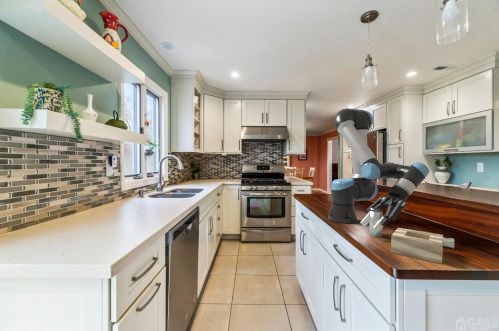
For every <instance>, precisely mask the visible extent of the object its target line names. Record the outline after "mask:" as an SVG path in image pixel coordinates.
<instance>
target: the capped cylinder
mask: <svg viewBox="0 0 499 331" xmlns="http://www.w3.org/2000/svg"><path fill="white" fill-rule="evenodd" d="M368 208H369V207H368ZM382 217H383V209H380V208H369V223H368V227H369V229H368V235H369V236H370V237H374V238H382V237H383V228H382V229H381V230H380V231H379V232H376V231H375V229H374V228H373V227H374V226H375V225H376V224H377V222H378V221H379V220H380V219H381V218H382Z"/></svg>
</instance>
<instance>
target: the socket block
mask: <svg viewBox="0 0 499 331" xmlns="http://www.w3.org/2000/svg"><path fill="white" fill-rule="evenodd" d="M443 237H444V234H439V233H432V232H429V231H428V232H427V231H421V230H414V229H409V228H408V229H407V228H401V227H397V228H396V230H394V232H393V233H392V234H391V236H390V238H391V240H390V243H391V244H390V253H392V254H398V255H401V256H407V257H411V258H415V259H419V260H424V261H428V262H433V263H436V264H443V254H444V253H443V252H444V246H443Z"/></svg>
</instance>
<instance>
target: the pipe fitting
mask: <svg viewBox="0 0 499 331" xmlns="http://www.w3.org/2000/svg"><path fill="white" fill-rule="evenodd" d="M444 247H445V248H449V249H452V250H453V249H455V238H451V237H448V238H447V237H444V236H443V248H444Z"/></svg>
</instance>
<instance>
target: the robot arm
mask: <svg viewBox="0 0 499 331" xmlns="http://www.w3.org/2000/svg"><path fill="white" fill-rule="evenodd" d="M373 123H374V116H373V114H372V113H371V112H370V111H368V110H365V109H354V108H348V107H347V108H343V109H341V110H339V111H338V112H337V113H336V114H335V116H334V120H333V124H334V127H335V129H336V131H337V133H338V134H341V136H342V137H343V138H344V140H345V142H346V143H347V145H348V146H349V148H350V150H351V160H352V161H351V166H352V175H351V177H348V178H337V179H334V180H332V183H331V206H330V210H329V213H328V217H327V218H328V220H329V221H330V222H335V223H342V224H354V223H357V222H358V215H357V213H356V210H355V207H354V206H355V202H359V201H361V202H362V201H363V202H366V201H370V200H373V199H374V198H375V197H376V196H377V194H378V190H379V189H378V185H377V184H376V182H375V181H373V180H387V179H388V180H391V179H392V180H397V181H395V183H394V184H393V185H391V187H390V189H388V192H387V195H385V196H382V195H380V196H379V197H378V199H377V200H376V201H374V202H373V203H372V204H370V206H369V207H368V208H367V209H366V211H367V214H366V215H365V216H364V218H363V219H362V220H361V221H360V224H361V226H363V227H364V228H365V227H366V226H367V225H369V208H380V209H382V210H383V209H387V210H386V212H385V214H384V215H383V216H382V218H381V219H380V220H379V221H378V222H377V224H376V225H375V226H374V227H373V228H374V229H375V231H376V232H379V231H380V230H381V229H382V230H383V228H384V227H385V226H386V225H387V224H388V223H389V222H391V221H392V222H395V221H396V220H397V218H398V217H399V216H400V213H401V212H402V210H403V209H404V208H406V206H407V205H408V204H407V203H406V201H407V199H408V198H409V197H410V195H412V193H413V192H414V191H416V189H417V187H419V185H421V183H422V182H423V181H424V180H425V179H426V177H427V176H428V175H429V174H430V168H429V167H428V166H427V165H426V164H424V163H423V162H419V161H416V162H412V163H411V165H404V164H399V163H395V162H384V163H381V162H380V161H379V160H378V159H377V157H376V156H375V154H374V152H373V151H372V150H371V148H370V147H369V145H368V137H367V135H368V134H369V132H370V129H371V128H372V127H373V125H374V124H373Z"/></svg>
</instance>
